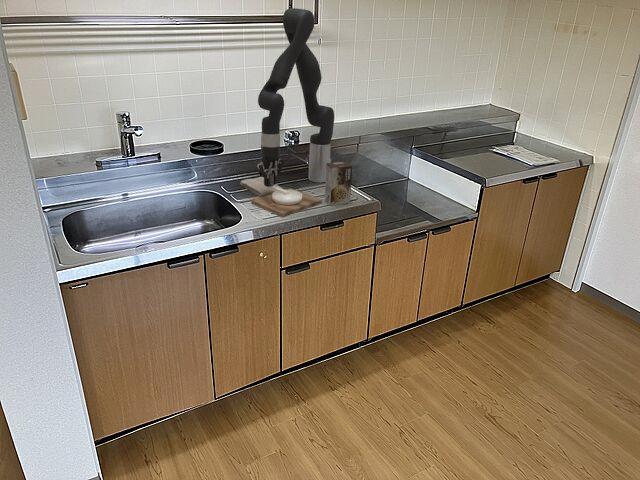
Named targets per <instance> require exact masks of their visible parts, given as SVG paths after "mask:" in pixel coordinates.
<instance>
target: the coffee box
mask: <svg viewBox="0 0 640 480" xmlns="http://www.w3.org/2000/svg"><path fill="white" fill-rule="evenodd" d="M352 178H353V165H352V164H350V162H348V161H334V162H331V163H326V182H324V183H325V186H324V201H325V202H326V203H327V204H328V205H329V206H338V205H346V203H348V204H350V203H351V194H352Z"/></svg>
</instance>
